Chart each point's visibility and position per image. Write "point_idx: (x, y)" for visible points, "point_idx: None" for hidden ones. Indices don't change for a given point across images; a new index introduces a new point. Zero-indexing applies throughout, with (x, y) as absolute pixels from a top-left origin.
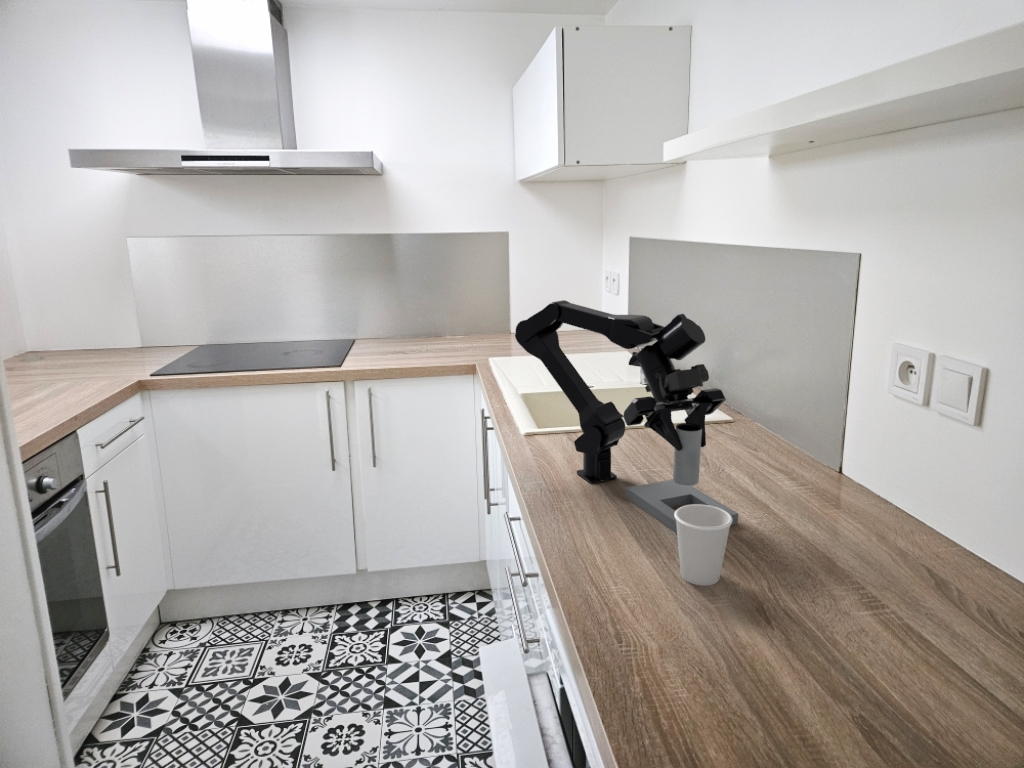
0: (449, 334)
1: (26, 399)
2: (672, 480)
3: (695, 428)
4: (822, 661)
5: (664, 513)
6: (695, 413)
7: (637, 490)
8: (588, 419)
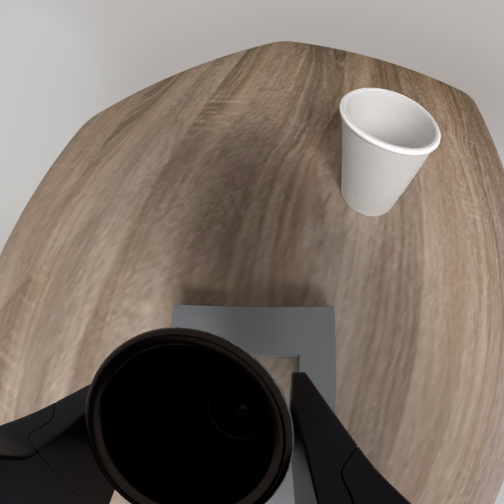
0: None
1: None
2: None
3: (114, 431)
4: (325, 81)
5: (333, 377)
6: (21, 489)
7: None
8: None
